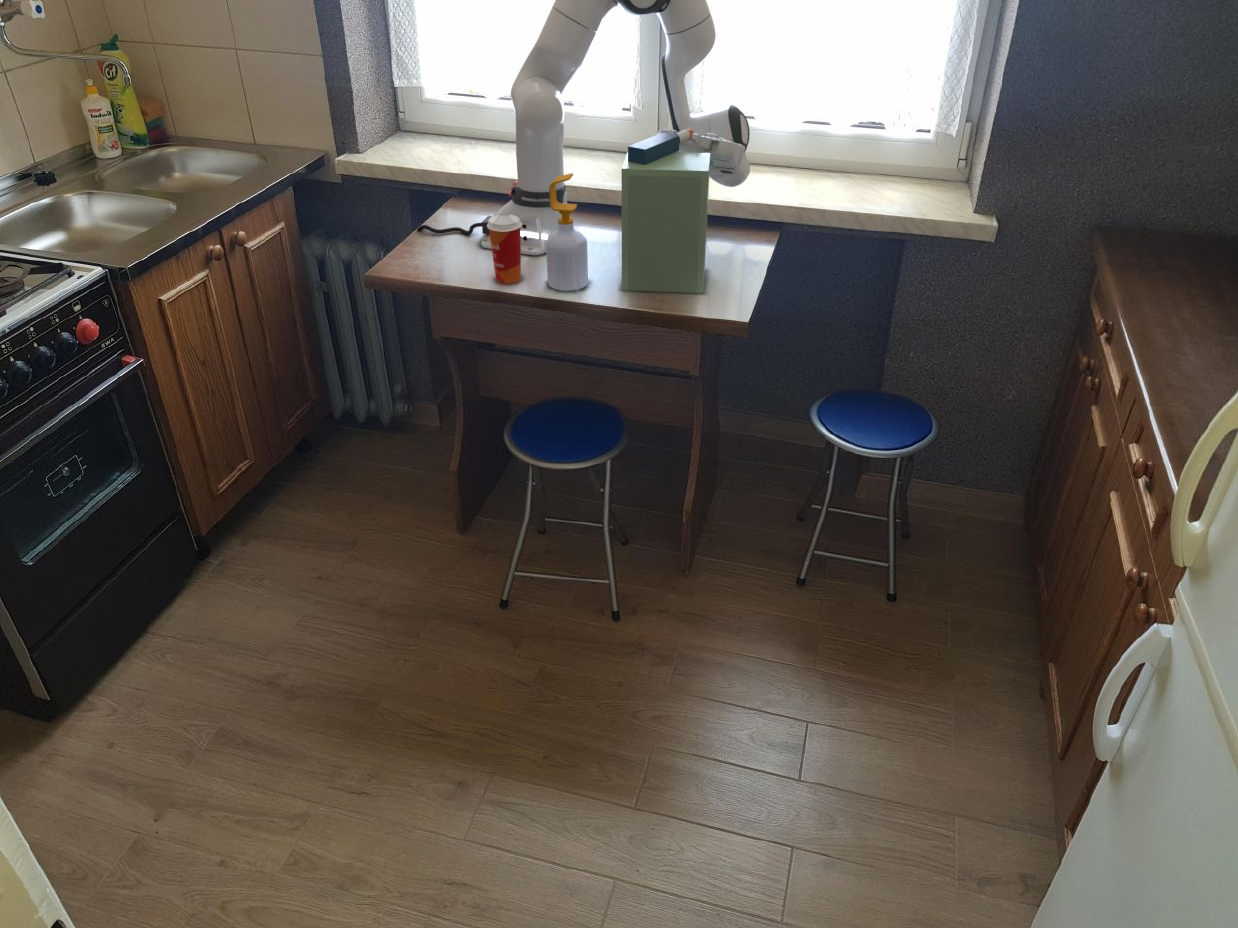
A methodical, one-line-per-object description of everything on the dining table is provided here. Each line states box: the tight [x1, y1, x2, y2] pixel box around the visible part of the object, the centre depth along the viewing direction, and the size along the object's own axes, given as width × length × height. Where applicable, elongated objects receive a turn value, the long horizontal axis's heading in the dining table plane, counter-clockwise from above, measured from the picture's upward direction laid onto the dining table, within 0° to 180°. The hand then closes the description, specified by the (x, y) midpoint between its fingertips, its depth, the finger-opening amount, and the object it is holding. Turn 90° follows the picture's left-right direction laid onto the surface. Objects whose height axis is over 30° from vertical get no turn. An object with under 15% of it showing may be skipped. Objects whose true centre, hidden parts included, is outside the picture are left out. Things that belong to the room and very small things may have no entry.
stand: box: [621, 151, 710, 294], centre depth 209 cm, size 13×18×27 cm
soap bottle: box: [545, 172, 589, 292], centre depth 209 cm, size 9×9×25 cm
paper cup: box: [487, 215, 522, 285], centre depth 214 cm, size 8×8×14 cm
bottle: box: [627, 128, 694, 165], centre depth 206 cm, size 20×4×3 cm, turn 144°
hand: (682, 135), depth 211 cm, fingers open, 5 cm apart
